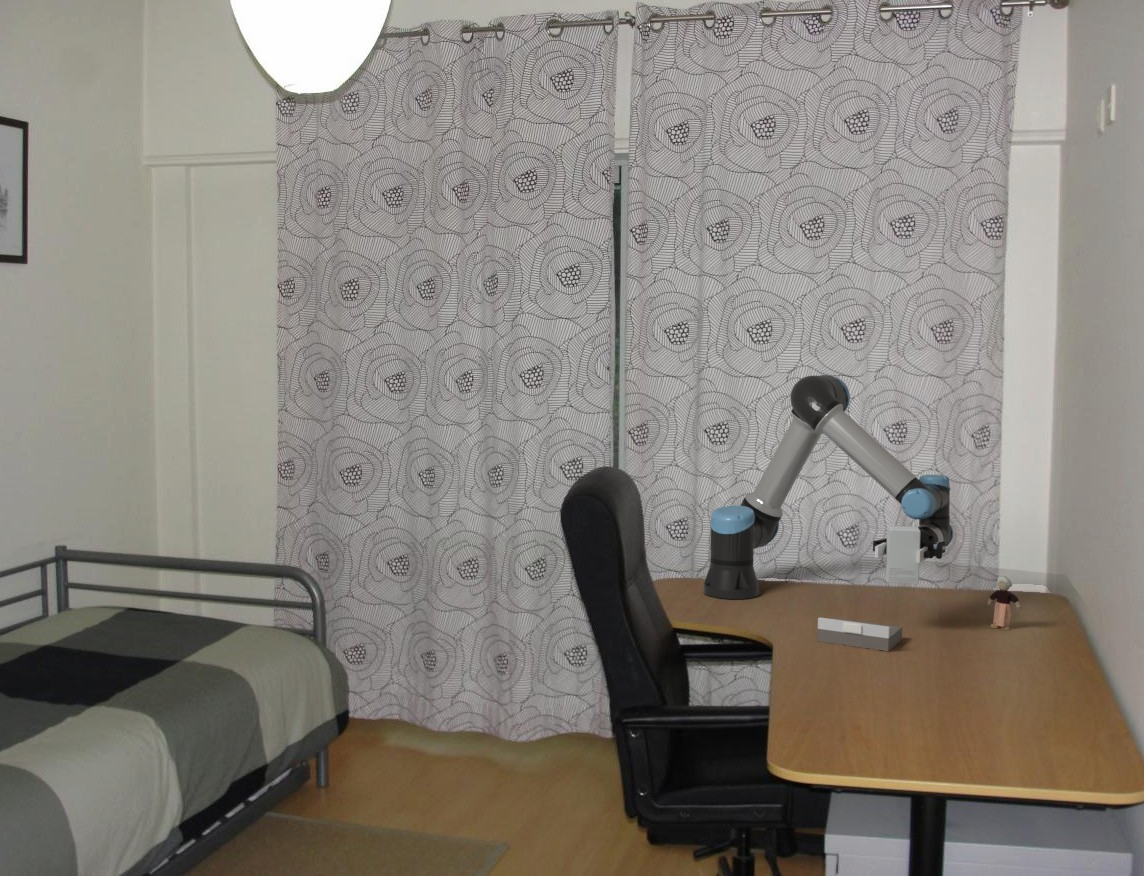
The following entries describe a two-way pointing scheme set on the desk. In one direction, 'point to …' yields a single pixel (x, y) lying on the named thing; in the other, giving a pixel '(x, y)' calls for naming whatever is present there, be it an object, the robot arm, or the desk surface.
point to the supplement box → (902, 554)
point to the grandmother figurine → (1003, 604)
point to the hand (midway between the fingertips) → (897, 554)
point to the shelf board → (858, 633)
